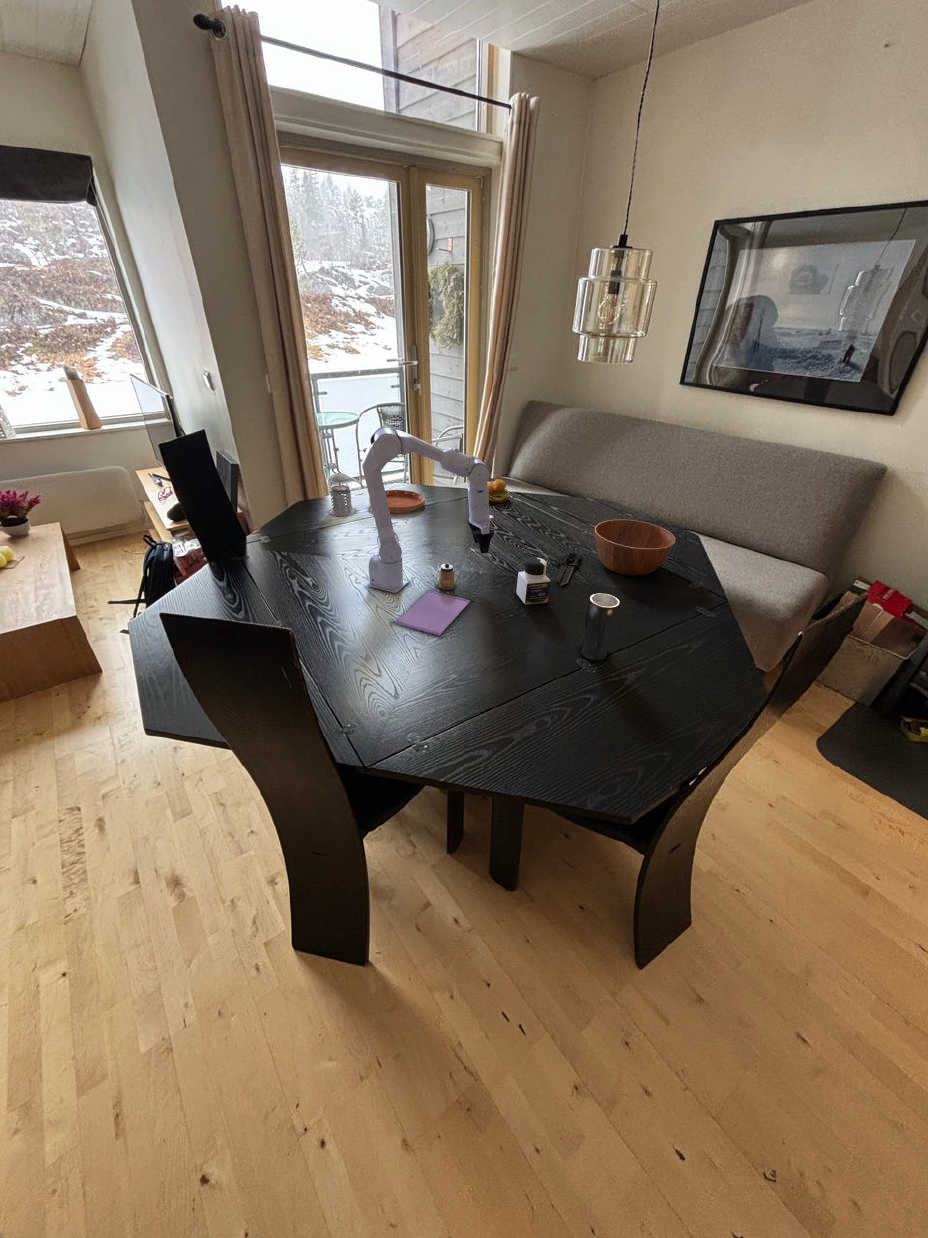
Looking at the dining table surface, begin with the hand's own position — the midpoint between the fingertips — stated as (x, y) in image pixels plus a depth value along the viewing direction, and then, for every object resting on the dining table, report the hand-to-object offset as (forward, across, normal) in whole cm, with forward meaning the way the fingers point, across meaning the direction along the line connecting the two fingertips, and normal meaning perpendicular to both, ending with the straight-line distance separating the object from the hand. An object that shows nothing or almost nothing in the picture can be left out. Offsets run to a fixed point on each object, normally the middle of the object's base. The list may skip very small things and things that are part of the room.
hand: (481, 547), depth 148 cm
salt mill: (+9, -3, +12) cm, 15 cm away
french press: (+6, +65, +42) cm, 78 cm away
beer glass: (+13, -43, -17) cm, 48 cm away
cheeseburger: (+9, +73, -24) cm, 77 cm away
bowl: (+16, +3, -50) cm, 52 cm away
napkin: (+9, -17, +18) cm, 26 cm away
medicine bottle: (+12, -14, -11) cm, 21 cm away
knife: (+14, +2, -28) cm, 32 cm away
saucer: (+9, +70, +20) cm, 73 cm away
